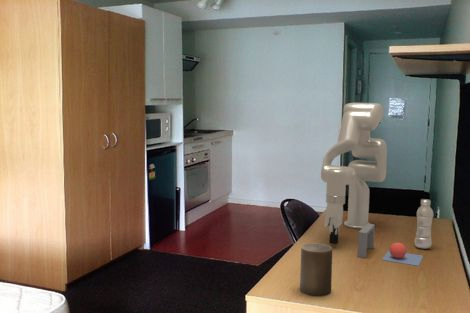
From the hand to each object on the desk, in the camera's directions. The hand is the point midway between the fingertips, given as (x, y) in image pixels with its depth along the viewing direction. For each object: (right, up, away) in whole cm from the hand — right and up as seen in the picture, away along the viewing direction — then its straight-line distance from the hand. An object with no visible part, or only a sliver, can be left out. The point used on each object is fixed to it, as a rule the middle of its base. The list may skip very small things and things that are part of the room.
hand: (333, 243), depth 192 cm
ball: (+22, 0, -13) cm, 25 cm away
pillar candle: (-15, -7, -45) cm, 48 cm away
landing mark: (+24, -3, -12) cm, 27 cm away
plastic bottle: (+37, -2, +1) cm, 37 cm away
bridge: (+11, -2, -6) cm, 13 cm away
